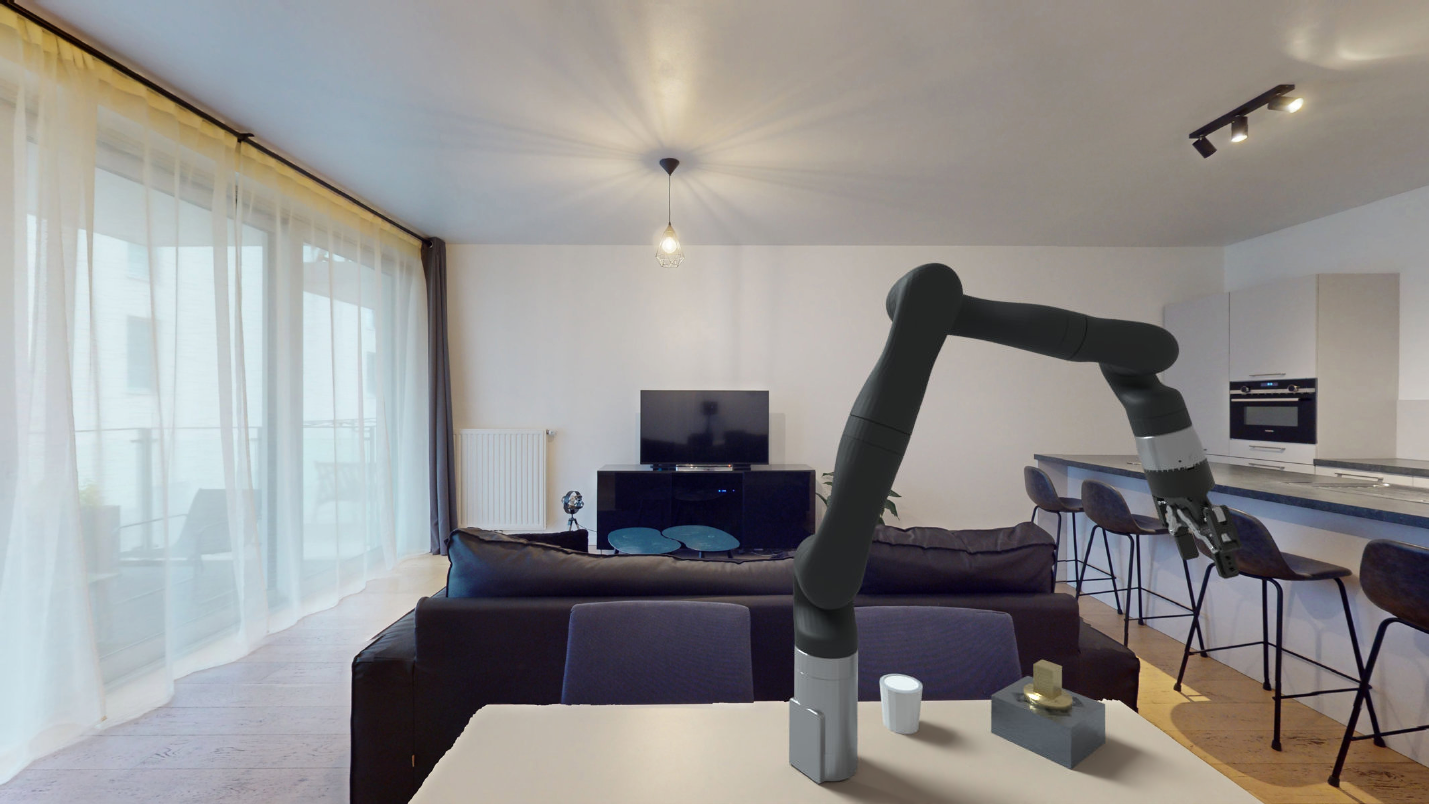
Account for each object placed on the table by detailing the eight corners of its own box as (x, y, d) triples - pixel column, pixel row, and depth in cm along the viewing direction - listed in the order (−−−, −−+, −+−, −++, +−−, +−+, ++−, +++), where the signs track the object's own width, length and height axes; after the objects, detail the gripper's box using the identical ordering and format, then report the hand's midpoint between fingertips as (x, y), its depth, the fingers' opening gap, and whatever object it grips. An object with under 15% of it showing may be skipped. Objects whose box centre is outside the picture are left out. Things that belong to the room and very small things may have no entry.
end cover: (1060, 740, 89) (1060, 678, 89) (1015, 720, 95) (1015, 662, 95) (1079, 726, 93) (1080, 667, 93) (1035, 708, 99) (1036, 652, 99)
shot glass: (927, 721, 99) (927, 679, 99) (917, 741, 93) (917, 696, 93) (886, 709, 102) (886, 669, 102) (873, 727, 97) (874, 685, 97)
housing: (1071, 769, 86) (1071, 728, 86) (991, 732, 95) (991, 695, 95) (1105, 742, 93) (1105, 704, 93) (1027, 710, 102) (1027, 675, 103)
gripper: (1120, 460, 93) (1153, 559, 92) (1174, 474, 79) (1214, 591, 78) (1171, 446, 91) (1205, 546, 91) (1235, 458, 77) (1276, 576, 77)
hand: (1209, 567), depth 85 cm, fingers open, 8 cm apart
